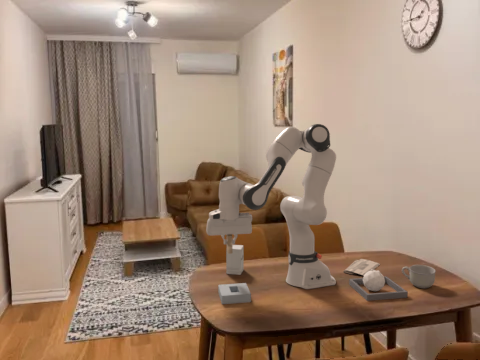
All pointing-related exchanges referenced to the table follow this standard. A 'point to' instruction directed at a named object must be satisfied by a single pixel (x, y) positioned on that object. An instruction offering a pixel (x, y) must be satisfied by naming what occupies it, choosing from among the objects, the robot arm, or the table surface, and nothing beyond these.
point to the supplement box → (235, 260)
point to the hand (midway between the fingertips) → (229, 243)
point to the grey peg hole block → (234, 293)
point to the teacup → (420, 275)
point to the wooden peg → (229, 243)
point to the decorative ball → (373, 280)
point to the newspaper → (361, 267)
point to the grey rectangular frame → (379, 296)
